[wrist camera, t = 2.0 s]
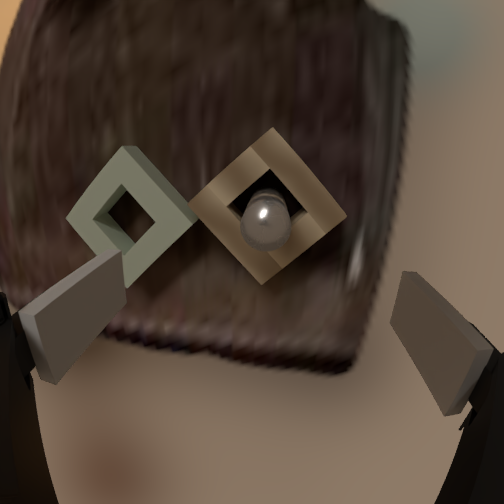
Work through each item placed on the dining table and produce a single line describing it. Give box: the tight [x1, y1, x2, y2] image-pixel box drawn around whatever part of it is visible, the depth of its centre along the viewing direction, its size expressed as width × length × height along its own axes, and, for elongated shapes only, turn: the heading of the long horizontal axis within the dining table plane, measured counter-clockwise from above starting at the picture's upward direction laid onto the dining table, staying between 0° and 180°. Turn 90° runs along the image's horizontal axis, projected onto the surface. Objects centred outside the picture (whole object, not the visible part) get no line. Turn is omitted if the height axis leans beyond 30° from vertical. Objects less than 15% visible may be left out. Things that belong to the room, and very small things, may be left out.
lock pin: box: [240, 186, 291, 251], centre depth 30 cm, size 4×4×12 cm
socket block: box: [66, 146, 199, 288], centre depth 35 cm, size 12×12×4 cm
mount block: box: [187, 127, 347, 285], centre depth 34 cm, size 12×12×4 cm
